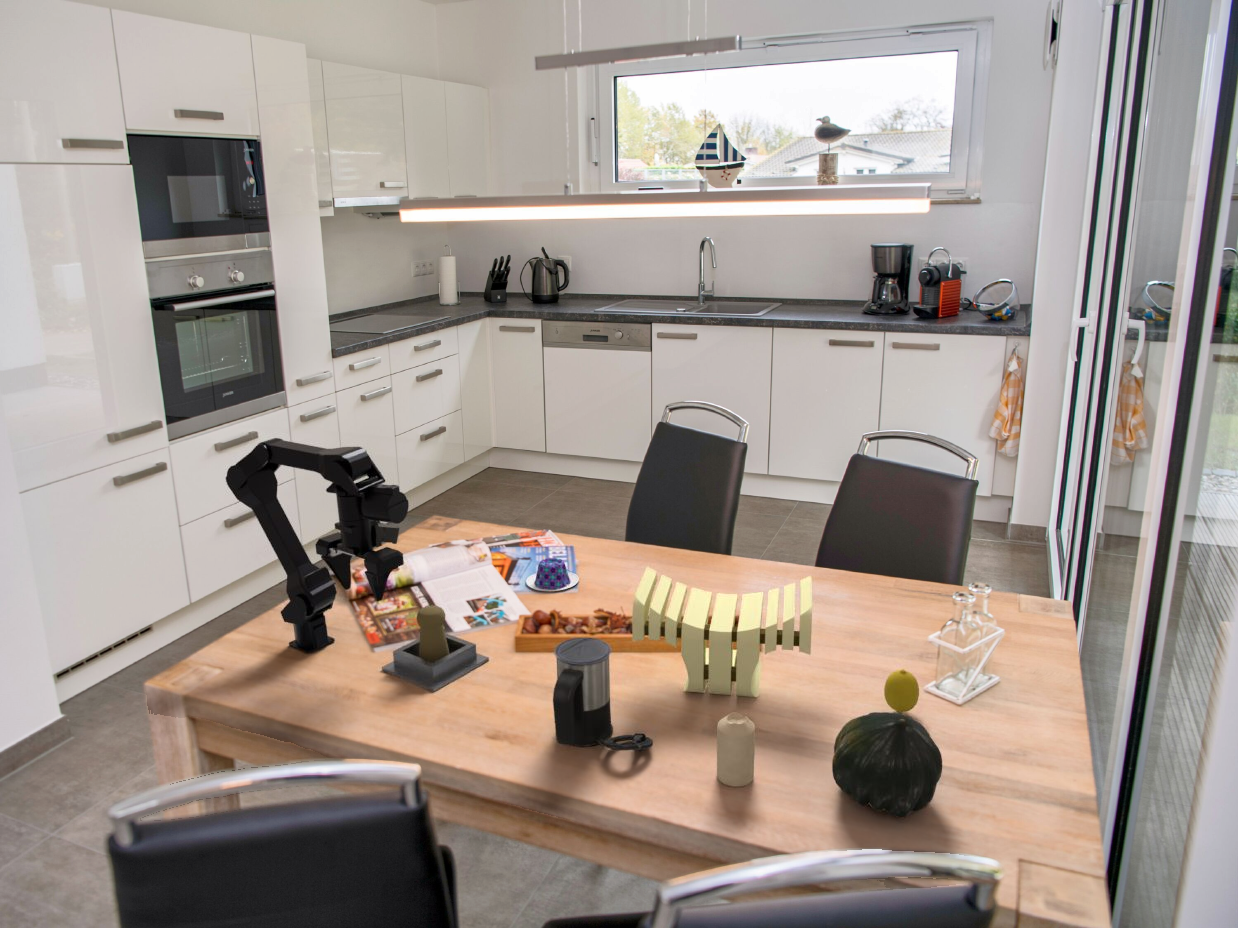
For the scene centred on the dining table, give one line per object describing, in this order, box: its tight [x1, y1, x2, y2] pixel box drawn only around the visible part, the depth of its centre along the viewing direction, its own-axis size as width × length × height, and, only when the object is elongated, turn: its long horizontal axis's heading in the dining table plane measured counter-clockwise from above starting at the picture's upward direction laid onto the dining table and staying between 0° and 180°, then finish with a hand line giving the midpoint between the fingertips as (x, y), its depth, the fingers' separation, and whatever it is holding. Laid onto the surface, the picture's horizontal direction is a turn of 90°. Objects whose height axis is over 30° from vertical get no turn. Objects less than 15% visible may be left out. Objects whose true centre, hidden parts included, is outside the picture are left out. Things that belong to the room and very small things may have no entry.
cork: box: [416, 605, 450, 663], centre depth 169 cm, size 6×6×11 cm
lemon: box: [883, 668, 920, 714], centre depth 151 cm, size 6×6×8 cm
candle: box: [716, 711, 756, 788], centre depth 135 cm, size 6×6×10 cm
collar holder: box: [381, 632, 490, 693], centre depth 171 cm, size 14×14×4 cm
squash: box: [831, 711, 943, 819], centre depth 129 cm, size 14×15×15 cm
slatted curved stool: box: [631, 565, 813, 698], centre depth 162 cm, size 30×16×18 cm, turn 79°
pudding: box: [525, 557, 580, 592], centre depth 207 cm, size 12×12×5 cm
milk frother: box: [552, 637, 654, 751], centre depth 144 cm, size 14×16×15 cm
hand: (363, 594), depth 171 cm, fingers open, 9 cm apart
